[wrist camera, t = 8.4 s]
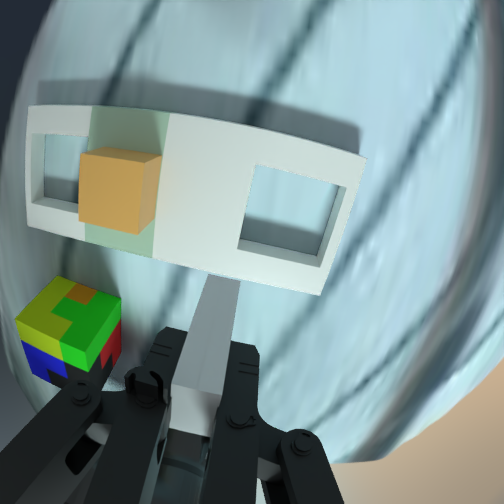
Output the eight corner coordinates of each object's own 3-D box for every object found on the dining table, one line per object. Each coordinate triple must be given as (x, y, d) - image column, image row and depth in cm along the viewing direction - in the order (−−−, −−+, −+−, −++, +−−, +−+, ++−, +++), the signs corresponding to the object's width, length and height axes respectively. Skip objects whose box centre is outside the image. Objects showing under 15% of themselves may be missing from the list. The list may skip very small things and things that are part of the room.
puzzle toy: (64, 329, 39) (32, 373, 30) (57, 275, 34) (14, 318, 25) (121, 351, 39) (94, 403, 30) (121, 298, 35) (85, 352, 26)
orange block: (154, 218, 27) (137, 235, 24) (99, 206, 27) (78, 221, 23) (162, 155, 25) (144, 162, 21) (103, 146, 24) (80, 153, 21)
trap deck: (316, 282, 32) (319, 295, 30) (39, 218, 31) (27, 225, 28) (359, 154, 26) (367, 158, 24) (42, 104, 25) (28, 105, 22)
